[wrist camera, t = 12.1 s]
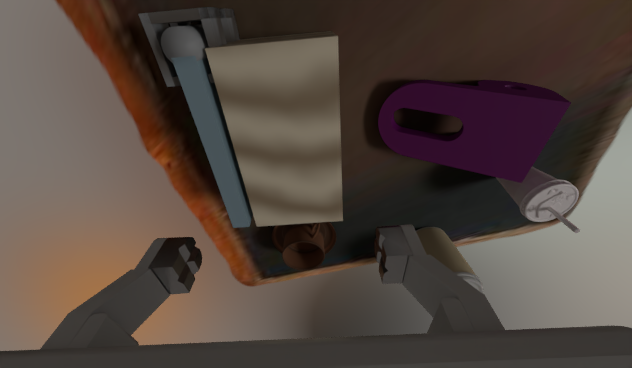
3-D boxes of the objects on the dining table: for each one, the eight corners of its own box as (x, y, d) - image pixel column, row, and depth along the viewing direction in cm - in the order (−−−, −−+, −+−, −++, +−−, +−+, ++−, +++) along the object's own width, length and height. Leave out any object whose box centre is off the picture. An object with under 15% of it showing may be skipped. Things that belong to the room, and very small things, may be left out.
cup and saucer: (273, 204, 44) (268, 228, 39) (340, 209, 45) (343, 234, 40) (272, 250, 51) (268, 276, 46) (330, 254, 52) (332, 280, 47)
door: (189, 25, 29) (144, 29, 21) (224, 22, 29) (191, 24, 21) (240, 188, 42) (223, 228, 34) (263, 186, 42) (252, 226, 34)
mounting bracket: (385, 128, 43) (509, 154, 37) (372, 148, 36) (521, 183, 30) (398, 67, 38) (547, 86, 32) (386, 77, 31) (571, 102, 25)
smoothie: (474, 178, 42) (537, 241, 30) (501, 144, 38) (583, 200, 26) (506, 187, 43) (579, 251, 31) (534, 154, 39) (628, 213, 28)
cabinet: (181, 14, 28) (134, 13, 21) (330, -1, 28) (336, -7, 20) (237, 191, 42) (221, 229, 35) (337, 184, 42) (342, 220, 34)
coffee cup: (403, 259, 53) (424, 316, 43) (400, 228, 48) (424, 284, 38) (449, 251, 52) (481, 307, 42) (451, 218, 47) (489, 274, 37)
